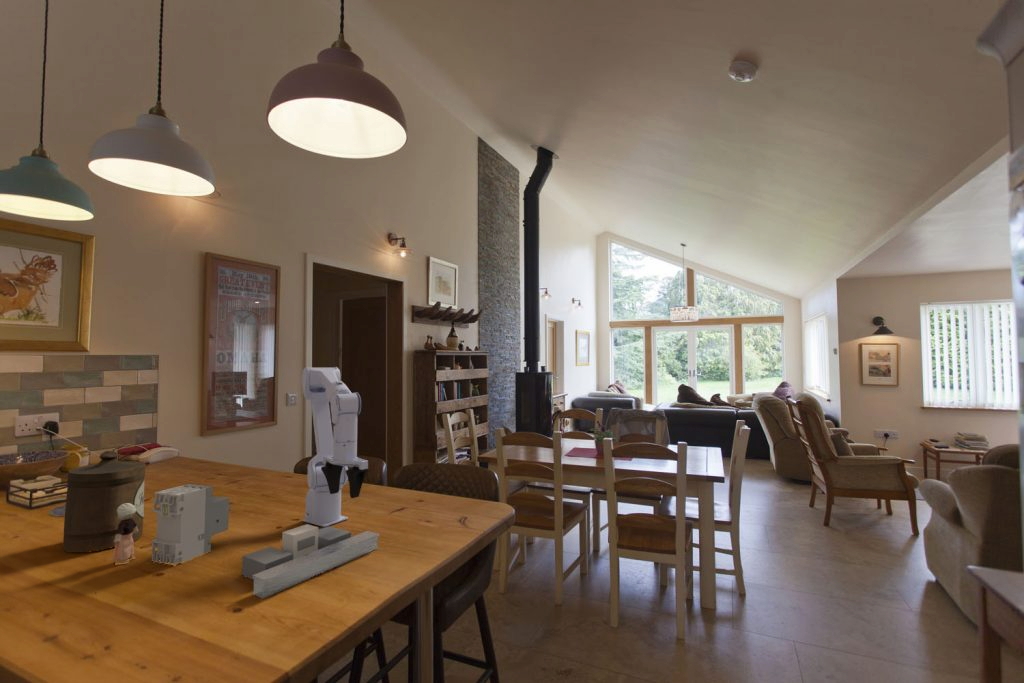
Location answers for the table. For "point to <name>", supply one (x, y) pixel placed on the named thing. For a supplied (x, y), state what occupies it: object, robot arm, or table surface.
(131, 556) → the grandmother figurine
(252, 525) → the table surface
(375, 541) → the din rail
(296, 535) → the block
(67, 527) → the wooden container
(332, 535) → the mounted modules
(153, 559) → the circuit breaker
